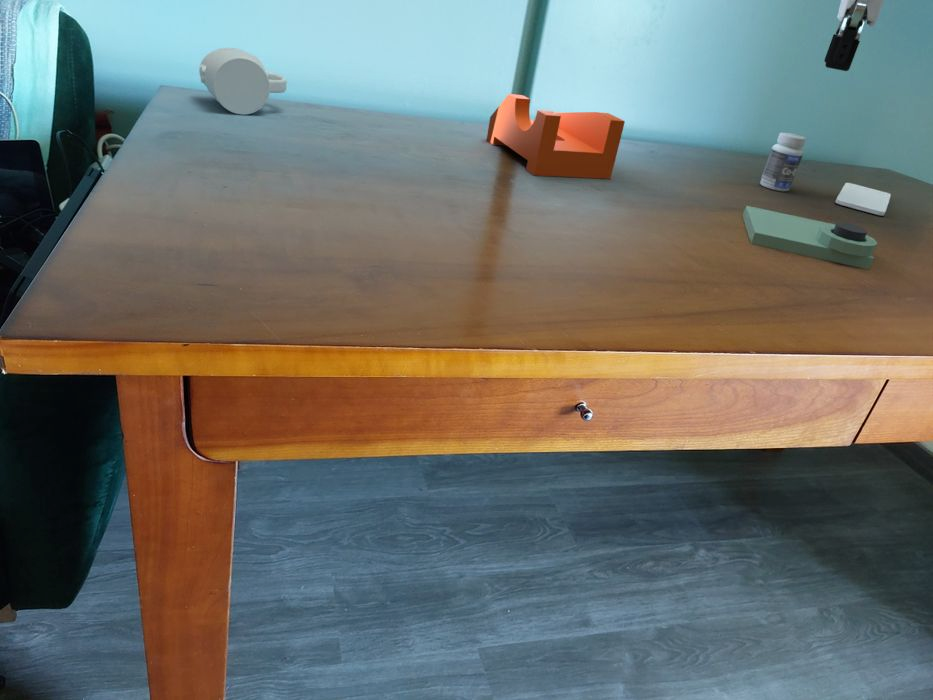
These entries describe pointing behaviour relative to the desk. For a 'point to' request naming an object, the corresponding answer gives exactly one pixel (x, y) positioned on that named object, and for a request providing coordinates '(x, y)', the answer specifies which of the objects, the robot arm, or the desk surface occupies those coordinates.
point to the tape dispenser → (557, 139)
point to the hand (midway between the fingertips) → (835, 66)
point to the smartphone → (863, 199)
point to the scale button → (850, 231)
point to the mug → (239, 80)
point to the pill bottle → (783, 162)
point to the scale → (806, 238)
